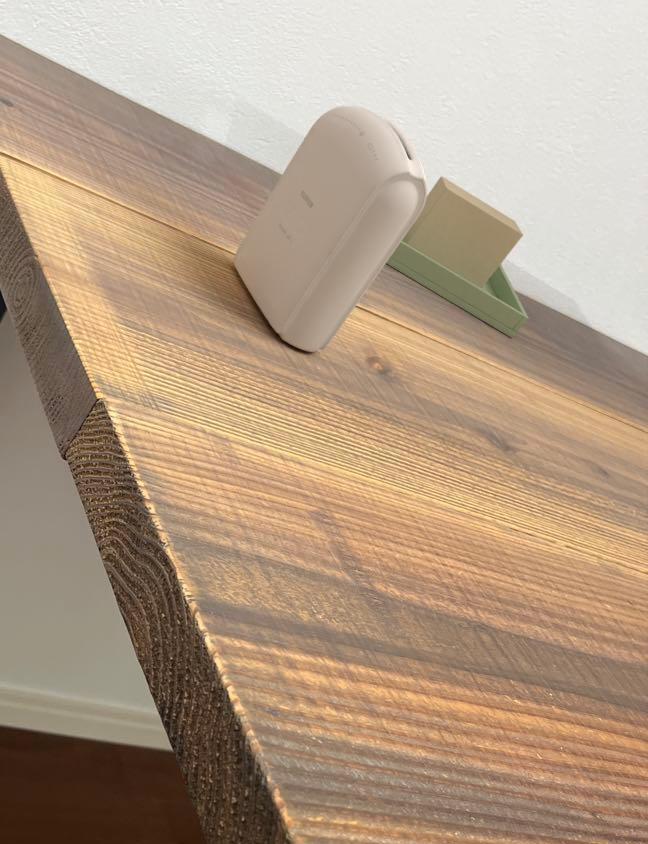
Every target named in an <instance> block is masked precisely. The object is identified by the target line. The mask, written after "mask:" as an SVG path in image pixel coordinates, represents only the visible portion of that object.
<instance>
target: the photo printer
mask: <svg viewBox="0 0 648 844" xmlns="http://www.w3.org/2000/svg"><path fill="white" fill-rule="evenodd" d="M427 195H428V182H427V177H426V173H425V169H424V167H423V163H422V160H421V159H420V157H419V154H418V152H417V150H416V149H415V146H414V145H413V144H412V142H411V141H410V139H409V137H408V136H407V135H406V134H405V133H404V131H403V130H401V128H400V127H398V126H397V125H396V124H395V123H393V122H392V121H391V120H389V119H387V118H386V117H383V116H381V115H378V114H377V113H376V112H374V111H372V110H369V109H367V108H365V107H361V106H355V105H340V106H336V107H334V108H331V109H329V110H327V111H326V112H325V113H323V114H322V115H320V116H319V118H318V119H316V121H314V123H313V124H312V126H311V127H310V129H309V130H308V132H307V133H306V135H305V137H304V139H303V140H302V142H301V143H300V145H299V147H298V148H297V150H296V151H295V153H294V155H293V156H292V158H291V160H290V161H289V163H288V164H287V166H286V167H285V169H284V171H283V172H282V175H281V176H280V178H279V179H278V181H277V183H275V186H274V188H273V189H272V191H271V193H270V194H269V196H268V198H267V199H266V201H265V202H264V204H263V206H262V207H261V209H260V211H259V213H258V214H257V216H256V218H255V219H254V221H253V222H252V224H251V226H250V227H249V229H248V231H247V232H246V234H245V236H244V237H243V238H242V241H241V243H240V244H239V246H238V248H237V250H236V252H235V254H234V256H233V264H234V267H235V269H236V271H237V273H238V274H239V277H240V278H241V280H242V282H243V283H244V285H245V287H246V288H247V290H248V292H249V294H250V295H251V297H252V298H253V300H254V301H255V303H256V305H257V307H258V308H259V310H260V311H261V312H262V314H263V316H264V317H265V319H266V320H267V321H268V323H269V325H270V326H271V327H272V329H273V330H274V331H275V333H276V334H278V335H279V337H280V338H281V340H282V341H284V342H286V343H287V344H289V345H291V346H293V347H295V348H297V349H299V350H302V351H305V352H311V353H315V352H317V351H318V350H321V351H322V350H325V349H326V348H327V347H328V345H329V344H330V343H331V342H332V341H333V339H334V338H335V337H336V335H337V334H338V333H339V331H340V330H341V328H342V327H343V326H344V324H345V322H346V321H347V319H348V318H349V317H350V315H351V313H352V312H353V311H354V309H355V308H356V306H357V305H358V304H359V302H360V300H361V299H362V298H363V296H364V295H365V294H366V292H367V291H368V290H369V288H370V287H371V285H372V284H373V282H374V281H375V280H376V278H377V277H378V275H379V274H380V273H381V270H382V269H383V268H384V267H385V265H387V264H386V262H387V261H388V259H389V258H390V256H391V255H392V254H393V252H394V251H395V249H396V248H397V247H398V245H399V244H400V242H401V241H402V239H403V238H404V237H405V235H406V234H407V232H408V231H409V229H410V228H411V227H412V225H413V224H414V222H415V221H416V220H417V218H418V217H419V215H420V213H421V212H422V210H423V208H424V205H425V202H426V198H427Z"/></svg>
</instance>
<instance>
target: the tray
mask: <svg viewBox="0 0 648 844" xmlns="http://www.w3.org/2000/svg"><path fill="white" fill-rule="evenodd" d="M385 265H388V266H390V267H391V268H393V269H395V270H396V271H398V272H399V273H402V274H403V275H405V277H408V278H410V279H411V280H413V281H415V282H416V283H418V284H419V285H421V286H423V287H424V288H426V289H428V290H430V291H431V292H433V293H435V294H436V295H439V296H440V297H441V298H444V299H445V300H446V301H448V302H450V303H452V304H454V305H455V306H457V307H459V308H460V309H462V310H463V311H465V312H467V313H469V314H470V315H472V316H473V317H476V318H477V319H479V320H480V321H482V322H484V323H486V324H487V325H489V326H491V327H493V328H494V329H496V330H498V331H499V332H500V333H503V334H504V335H506V336H507V337H509V338H511V339H513V338H514V337H515V336H516V335H517V333H518V332H519V331H520V330H521V329H522V327H524V325H525V324H526V323H527V322H528V320H529V319H530V318H529V316H528V314H527V312H526V310H525V309H524V307H523V304H522V302H521V300H520V298H519V297H518V295H517V292H516V291H515V289H514V287H513V285H512V282H511V280H510V279H509V277H508V275H507V273H506V271H505V270H504V267H503V265H502V263H501V264H500V265H499V267H498V268H497V269H496V271H495V272H494V273H493V274H492V276H491V277H490V278H489V279H488V281H487V282H486V283H485V285H484V286H483V287H482V288H479V287H478V286H476V285H474V284H473V283H471V282H469V281H468V280H466V279H464V278H463V277H461V276H459V275H458V274H456V273H454V272H453V271H451V270H449V269H448V268H446V267H444V266H443V265H441V264H439V263H438V262H436V261H434V260H433V259H431V258H429V257H428V256H426V255H424V254H423V253H421V252H419V251H418V250H416V249H414V248H413V247H411V246H409V245H408V244H406V243H404V242H403V241H401V242H400V244H399V245H398V247H397V248H396V249H395V251H394V252H393V254H392V255H391V256H390V258H389V259H388V261H387V262H386V264H385Z"/></svg>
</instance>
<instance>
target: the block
mask: <svg viewBox="0 0 648 844" xmlns="http://www.w3.org/2000/svg"><path fill="white" fill-rule="evenodd" d="M523 236H524V233H523V232H522V230H521V229H520V227H519V224H517V222H516V221H515V220H514V219H512V218H511V217H509V216H507V215H505V214H504V213H503V212H501V211H499V210H497V209H496V208H495V207H493V206H491V205H490V204H488V203H486V202H484V201H483V200H481V199H480V198H478V197H476V196H475V195H473V194H472V193H470V192H469V191H468V190H465V189H463V188H462V187H460V186H459V185H457V184H455V183H453V182H452V181H450V180H448V178H445V177H444V176H443V175H441V176H440V177H439V179H438V180H437V181H436V183H435V184H434V185H433V187H432V188H431V189H430V191H429V192H428V193H427V198H426V202H425V205H424V208H423V210H422V212H421V213H420V215H419V217H418V218H417V220H416V221H415V222H414V224H413V225H412V227H411V228H410V229H409V231H408V232H407V234H406V235H405V237H404V238H403V239H402V241H403V242H404V243H406V244H408V245H409V246H411V247H413V248H414V249H416V250H418V251H419V252H421V253H423V254H424V255H426V256H428V257H429V258H431V259H433V260H434V261H436V262H438V263H439V264H441V265H443V266H444V267H446V268H448V269H449V270H451V271H453V272H454V273H456V274H458V275H459V276H461V277H463V278H464V279H466V280H468V281H469V282H471V283H473V284H474V285H476V286H478V287H479V288H482V287H483V286H484V285H485V283H486V282H487V281H488V279H489V278H490V277H491V276H492V274H493V273H494V272H495V271H496V269H497V268H498V267H499V265H500V264H501V265H502V263H503V262H504V260H505V259H506V258H507V257H508V255H509V254H510V253H511V252H512V251H513V249H514V248H515V247H516V245H517V244H518V243H519V241H520V240H521V239H522V238H523Z"/></svg>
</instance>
